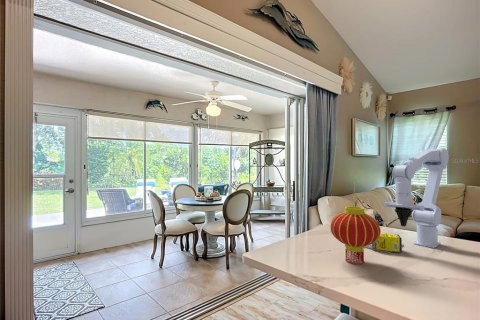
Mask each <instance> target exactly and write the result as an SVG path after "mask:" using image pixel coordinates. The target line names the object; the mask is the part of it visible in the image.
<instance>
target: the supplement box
mask: <svg viewBox="0 0 480 320" xmlns="http://www.w3.org/2000/svg"><path fill="white" fill-rule="evenodd" d="M402 241H403V240H402V237H401V236H400V234H399V233H398V234H397V233H384V232H381V233H380V236H379V238H378V239H377V240H376V241H375V242H374V243H373V244H371V246H372V249H376V250H386V251H393V252H395V253H396V252H397V253H402V252H403V249H402V247H403V246H402V243H403V242H402ZM372 249H371V250H372ZM376 250H375V251H376Z"/></svg>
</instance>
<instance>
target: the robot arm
mask: <svg viewBox="0 0 480 320" xmlns="http://www.w3.org/2000/svg"><path fill="white" fill-rule="evenodd" d="M449 159H450V156H449V151H448V150H447V149H446V148H430V149H424V148H423V149H421V150H419V153H418V155H417V156H416V157H411V156H410V157H408V159H407V160H406V161H404V162H402V164H396V165H395V166H394V167H393V168H392V172H391V175H392V177H393V182H394V183H395V185H394V186H395V188H394V189H395V191H394V192H395V194H394V195H395V202H392V201H384V204H383V206H384V207H386V208H395V209H394V212H395V213H396V215H397V217H398V220H399V222H400V226H401V227H407V224H408V220H409V218H410V216H411V218H412V220H413V222H414V223H415V224H416V241H414V242H413V244H414V245H417V246H423V247H428V248H433V249H435V248H436V247H438V246H439V245H440V244H441V242H439V238H438V236H439V235H438V234H439V232H438V226H439V225H440V224H441V222H442V210H441V208H440V207H439V206H438V205H436V203H437V200H438V195H439V189H440V186H441V181H442V177H443V176H442V175H443V172H444V170H445V169H447V166H448V163H449ZM422 165H423V166H422ZM422 167H424V168H425V169H427V170H428V175H427V179H426V183H425V188H424V191H423V197H422V201H421V202H418V203H417V204H414V203H412V179H414V176H415V174H416V172H417V171H419V170H421V169H422Z"/></svg>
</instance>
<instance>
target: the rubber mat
mask: <svg viewBox="0 0 480 320" xmlns="http://www.w3.org/2000/svg"><path fill="white" fill-rule="evenodd" d="M404 245H405V244H402V247H404ZM364 249H369V250H373V251H375V252H376V251H377V252H381V253H384V254H390V255H391V253H394V251H386V250H376V249H372V246H371V245H368V246H364Z"/></svg>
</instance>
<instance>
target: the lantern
mask: <svg viewBox="0 0 480 320" xmlns="http://www.w3.org/2000/svg"><path fill="white" fill-rule="evenodd" d="M355 183H356V182H355V180H354V181H353V206H351V205H348V206H345V207H344V211H343V212H340V213H338V214H337V215H335V216H334V217H332V219H331V221H330V227H329V228H330V233H331V235H332V236H333V237H334V238H335V239H336V240H337V241H338V242H340V243H341V244H343V245H344V246H345V262H348V260H349V264H351V265H359V266H360V265H364V264H365V250H364V249H365V248H364V246H368V245H371V244H373V243H374V242H375V241H376V240H377V239H378V238H379V236H380V233H382V232H381V227H380V224H379V223H378V221H377V220H376V219H375V218H374V217H373V216H371V215H369V214H367V213H365V208H364V207H363V206H362V207H361V206H355V205H356V204H355V196H356V194H355V190H356V189H355V187H356V186H355Z"/></svg>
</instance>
